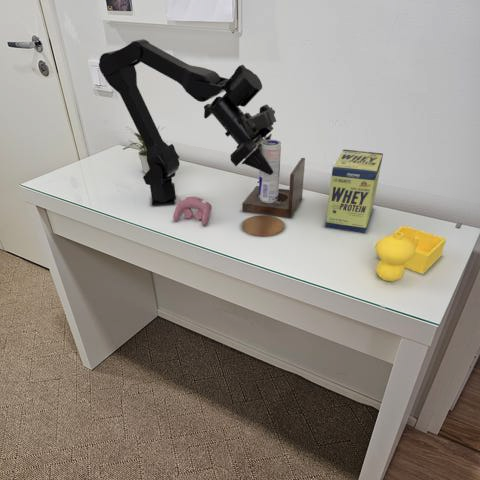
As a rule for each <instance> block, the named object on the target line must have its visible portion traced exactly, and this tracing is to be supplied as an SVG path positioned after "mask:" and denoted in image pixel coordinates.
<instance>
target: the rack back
mask: <svg viewBox="0 0 480 480" xmlns="http://www.w3.org/2000/svg"><path fill="white" fill-rule="evenodd" d="M305 166H306V158H305V157H301V158H300V159H299V161H298V163H297V164H296V165H295V167H294V168H293V170H292V171H291V173H290V174H289V189H288V190H289V206H288V209H289V211H288V217H289V218H288V219H292V218H291V213H289V212H291V210H292V212H295V213H296V211H294V210H295V209H294V208H296V207H295V205H296V202H297V200H298V198H299V197H301V198H299V199H300V200H301V201H300V200H299V201H298V203H299V202H300V203H301V202H302V200H303V191H304V176H305ZM301 195H302V196H301ZM293 207H294V208H293ZM295 213H293V214H292V215H293V216H294V214H295Z"/></svg>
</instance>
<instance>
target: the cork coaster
mask: <svg viewBox="0 0 480 480" xmlns="http://www.w3.org/2000/svg"><path fill="white" fill-rule="evenodd" d="M241 226H242V227H241V228H242V230H243V231H244V232H245V233H246V234H249V235H250V236H255V237H271V236H275V235H279V234H280V233H282V232H283V231H284V229H285V223H284V221H283V220H282V219H281V218H279V217H277V216H271V215H264V214H258V215H254V216H249V217H248V218H245V220H244V221H242V223H241Z"/></svg>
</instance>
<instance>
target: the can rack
mask: <svg viewBox="0 0 480 480" xmlns="http://www.w3.org/2000/svg"><path fill="white" fill-rule="evenodd" d="M301 196H302V197H303V194H302V195H301ZM299 198H301V197H299ZM299 198H298V200H297V202H296V205H295V207H296V208H294V207H293V208H294V209H295V210H294V211H295V212H292V210H291V212H289V213H291V218H289V217H288V211H289V209H288V206H289V189H286V188H279V192H278V199H277V200H276V201H275V202H273V203H264V202H262V201H261V200H260V199H259V185H256V186H255V187H254V188H253V190H252V191H251V192H250V193H249V194H248V196H247V197H246V198H245V199H244V201H243V202H242V212H243V213H250V214H256V215H257V214H258V215H267V216H273V217H278V218H279V217H280V218H287V219H292V218H293V216H294V214H295V213H296V211H297V210H298V208H299V205H300V204H301V202H302V200H300V199H299ZM299 200H300V201H301V202H299V203H298V201H299ZM293 213H294V214H293ZM292 214H293V215H292Z"/></svg>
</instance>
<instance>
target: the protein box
mask: <svg viewBox="0 0 480 480" xmlns="http://www.w3.org/2000/svg"><path fill="white" fill-rule="evenodd" d="M383 156H384V153H381V152H373V151H363V150H355V149H353V150H352V149H342V151H341V153H340V154H339V157H338V158H337V160H336V162H335V163H334V165H333V166H332V169H331V178H330V184H329V185H330V186H329V195H328V203H327V211H326V212H327V213H326V220H325V228H330V229H337V230H344V231H350V232H358V233H363V234H365V233H366V231H367V228H368V225H369V222H370V219H371V216H372V212H373V208H374V203H375V198H376V192H377V188H378V182H379V177H380V172H381V167H382V161H383Z"/></svg>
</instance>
